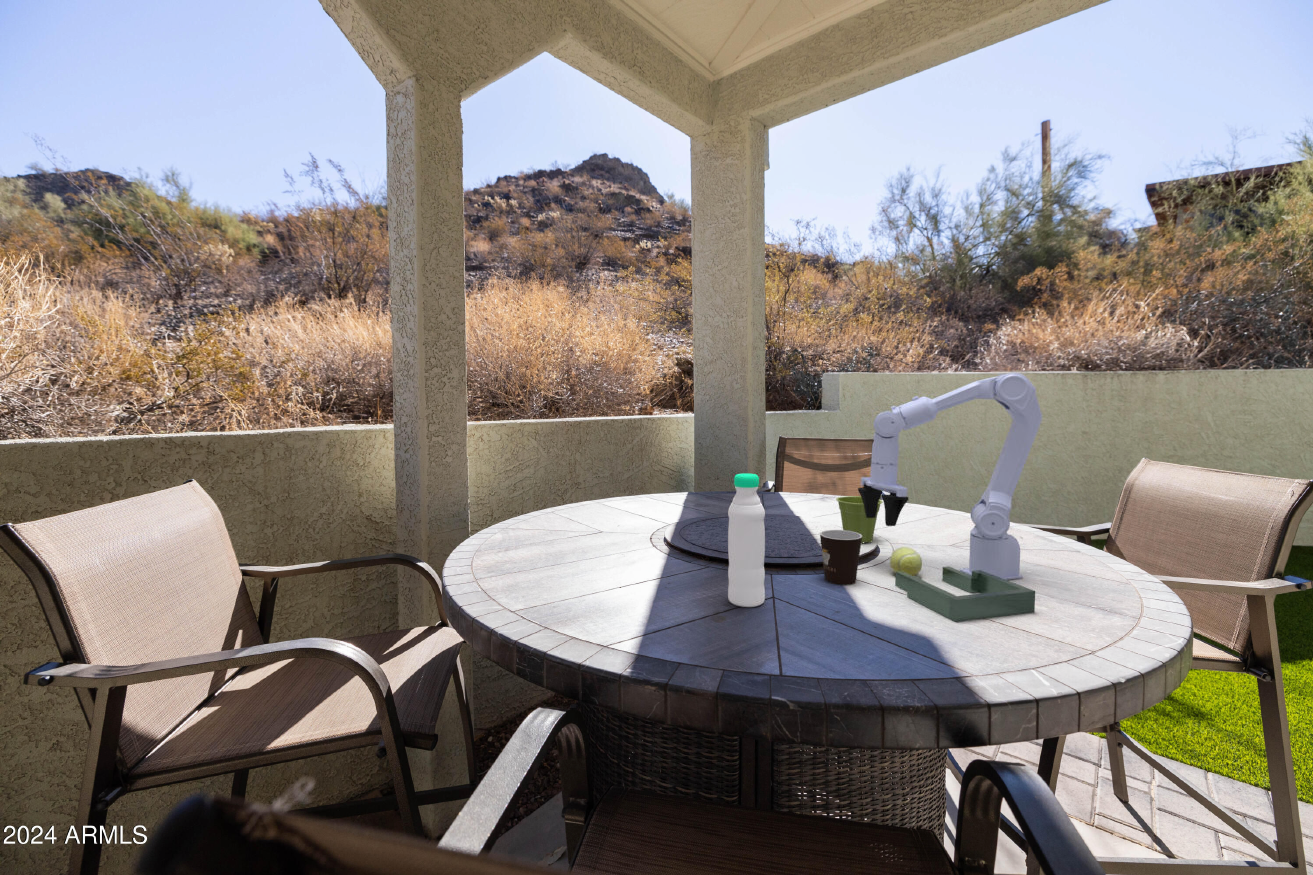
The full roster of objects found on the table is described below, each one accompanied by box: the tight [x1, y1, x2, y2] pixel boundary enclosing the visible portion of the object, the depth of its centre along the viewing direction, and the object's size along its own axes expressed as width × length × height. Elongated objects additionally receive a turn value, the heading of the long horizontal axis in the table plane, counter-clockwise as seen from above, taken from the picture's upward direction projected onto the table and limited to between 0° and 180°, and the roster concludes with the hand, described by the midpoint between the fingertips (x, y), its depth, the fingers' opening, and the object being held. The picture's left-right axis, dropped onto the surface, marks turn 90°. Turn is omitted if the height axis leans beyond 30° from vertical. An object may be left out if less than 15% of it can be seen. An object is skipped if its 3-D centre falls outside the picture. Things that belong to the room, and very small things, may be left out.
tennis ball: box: [889, 546, 923, 576], centre depth 129 cm, size 6×7×7 cm
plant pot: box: [836, 495, 884, 544], centre depth 158 cm, size 12×12×11 cm
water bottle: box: [727, 472, 766, 608], centre depth 113 cm, size 7×7×25 cm
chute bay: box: [894, 566, 1036, 623], centre depth 114 cm, size 17×20×4 cm
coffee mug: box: [819, 529, 862, 586], centre depth 127 cm, size 12×9×10 cm
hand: (880, 521), depth 135 cm, fingers open, 7 cm apart
